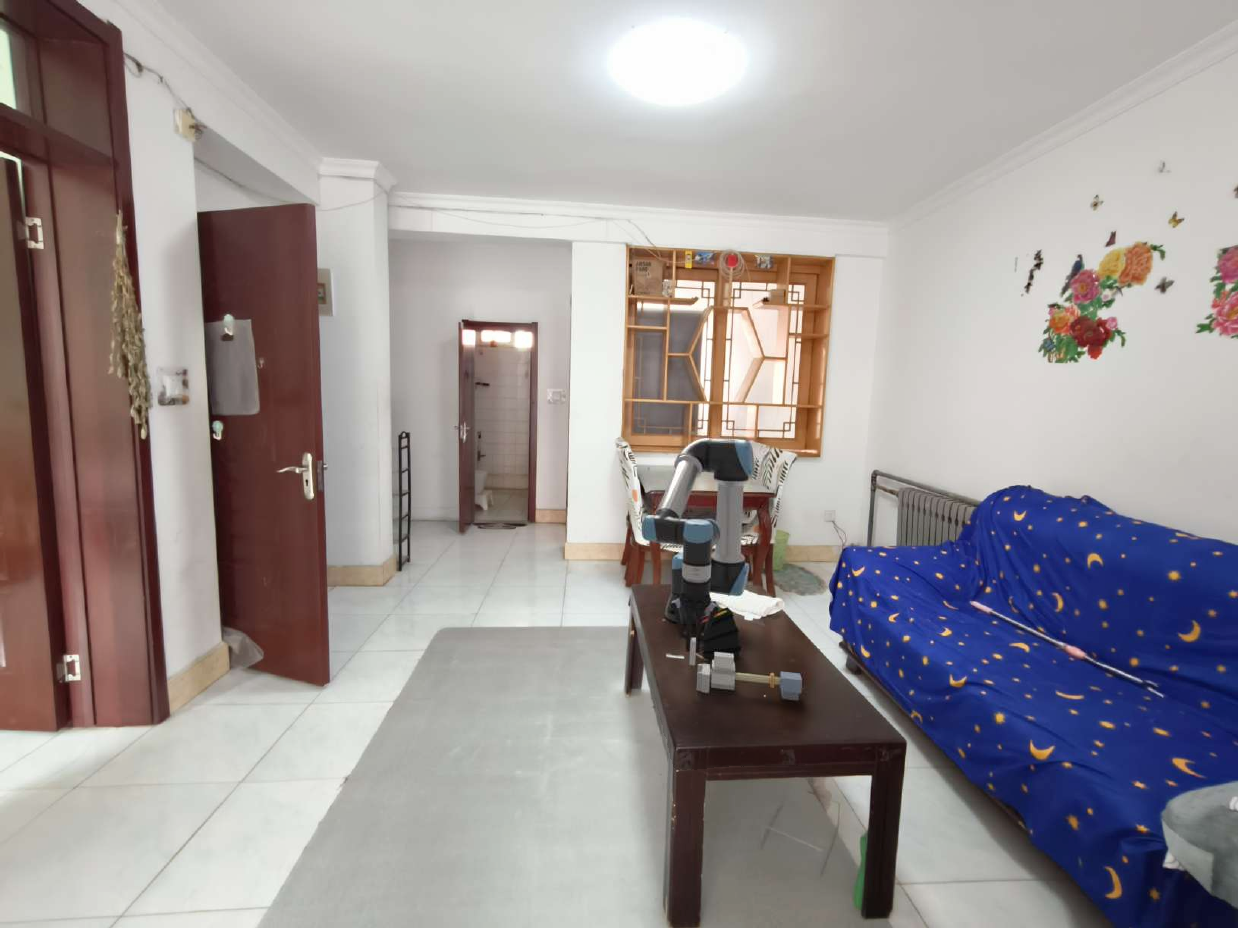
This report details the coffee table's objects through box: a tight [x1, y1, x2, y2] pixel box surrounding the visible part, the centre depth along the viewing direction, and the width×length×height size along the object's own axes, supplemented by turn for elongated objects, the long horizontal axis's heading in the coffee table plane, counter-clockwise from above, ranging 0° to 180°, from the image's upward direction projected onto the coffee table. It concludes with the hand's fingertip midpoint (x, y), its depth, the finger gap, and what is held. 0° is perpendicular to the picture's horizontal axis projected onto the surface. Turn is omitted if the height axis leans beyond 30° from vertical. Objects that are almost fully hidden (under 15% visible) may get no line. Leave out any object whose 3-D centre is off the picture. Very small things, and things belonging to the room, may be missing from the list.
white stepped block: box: [710, 652, 736, 691], centre depth 145 cm, size 5×6×8 cm
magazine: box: [695, 607, 742, 659], centre depth 164 cm, size 4×13×15 cm, turn 92°
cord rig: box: [696, 663, 803, 702], centre depth 144 cm, size 6×27×6 cm, turn 80°
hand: (692, 662), depth 147 cm, fingers closed
